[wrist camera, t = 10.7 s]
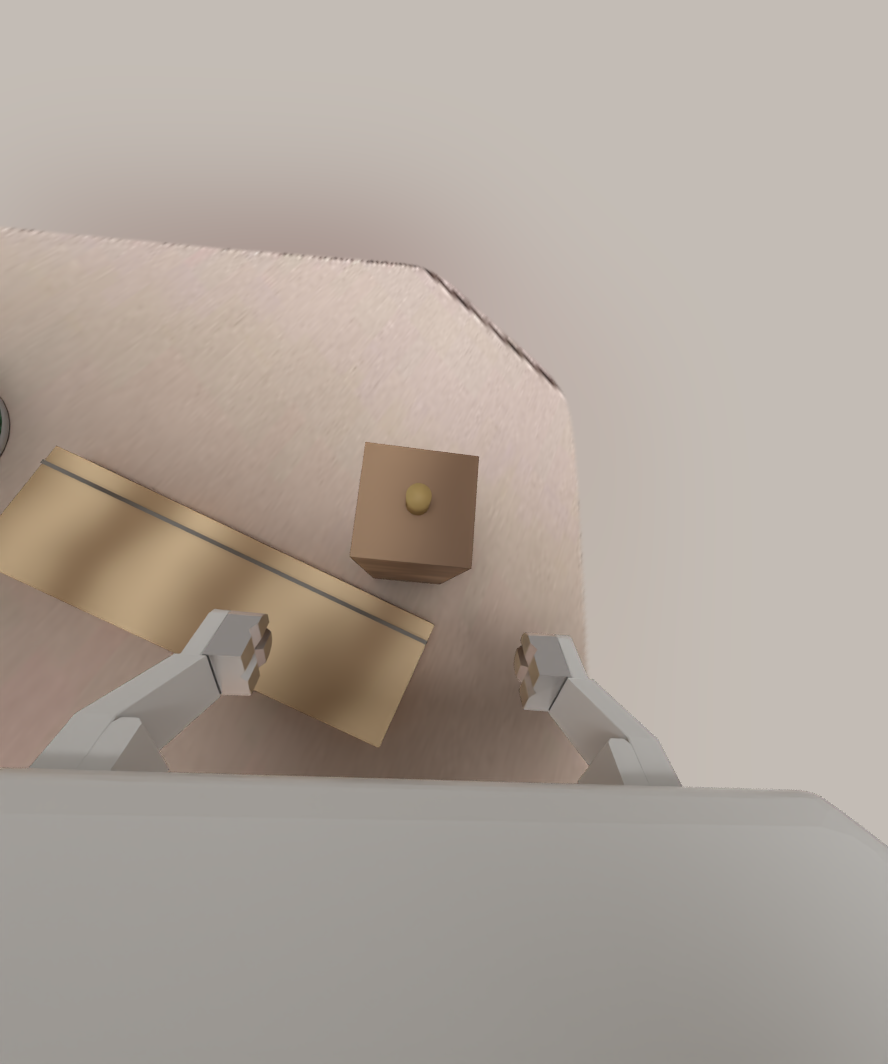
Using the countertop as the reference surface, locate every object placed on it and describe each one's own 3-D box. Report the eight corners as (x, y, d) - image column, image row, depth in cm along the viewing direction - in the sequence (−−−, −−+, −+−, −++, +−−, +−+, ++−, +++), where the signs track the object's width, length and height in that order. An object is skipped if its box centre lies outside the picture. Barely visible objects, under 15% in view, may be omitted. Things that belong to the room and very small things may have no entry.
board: (11, 561, 19) (-36, 556, 17) (88, 460, 21) (54, 444, 19) (381, 733, 20) (378, 749, 18) (431, 623, 21) (434, 625, 19)
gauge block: (373, 578, 21) (344, 551, 11) (381, 513, 22) (362, 427, 11) (440, 584, 22) (477, 565, 11) (445, 520, 22) (485, 444, 12)
